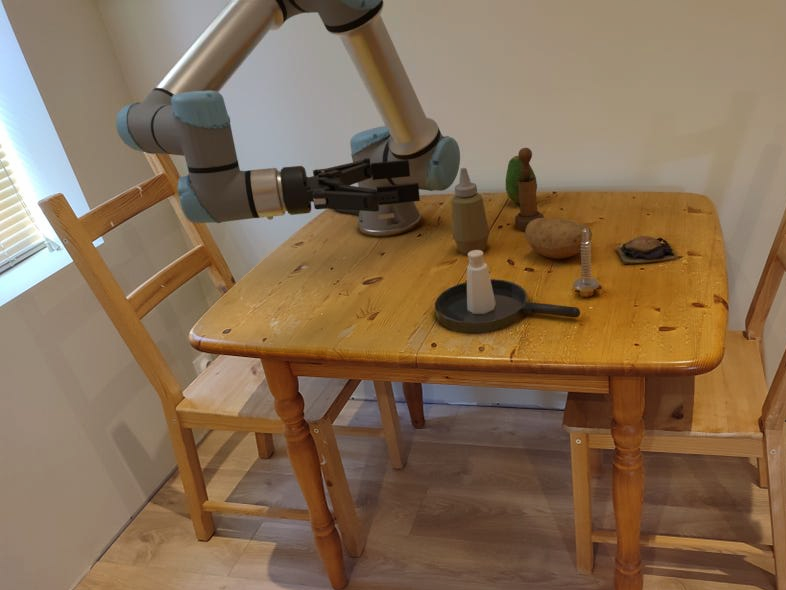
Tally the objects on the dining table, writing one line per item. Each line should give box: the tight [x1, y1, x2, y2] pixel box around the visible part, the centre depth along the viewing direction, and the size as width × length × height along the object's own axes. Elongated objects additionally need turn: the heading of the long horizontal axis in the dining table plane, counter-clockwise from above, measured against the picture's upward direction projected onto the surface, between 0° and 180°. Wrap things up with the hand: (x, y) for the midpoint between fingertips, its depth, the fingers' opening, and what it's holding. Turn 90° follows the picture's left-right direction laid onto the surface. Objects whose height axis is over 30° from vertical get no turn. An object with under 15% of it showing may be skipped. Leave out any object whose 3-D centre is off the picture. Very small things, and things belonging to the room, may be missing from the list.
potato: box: [524, 217, 593, 260], centre depth 134 cm, size 10×14×8 cm
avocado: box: [505, 155, 538, 205], centre depth 162 cm, size 8×8×12 cm
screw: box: [572, 228, 600, 298], centre depth 118 cm, size 13×5×5 cm
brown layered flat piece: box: [616, 235, 676, 265], centre depth 132 cm, size 11×8×4 cm
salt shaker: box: [466, 250, 496, 314], centre depth 117 cm, size 5×5×11 cm
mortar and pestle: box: [514, 147, 544, 232], centre depth 148 cm, size 7×6×18 cm
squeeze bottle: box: [451, 167, 490, 255], centre depth 139 cm, size 8×8×18 cm
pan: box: [434, 278, 529, 334], centre depth 120 cm, size 17×17×2 cm
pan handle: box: [522, 301, 581, 319], centre depth 115 cm, size 11×2×2 cm, turn 66°
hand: (414, 179), depth 109 cm, fingers open, 13 cm apart
